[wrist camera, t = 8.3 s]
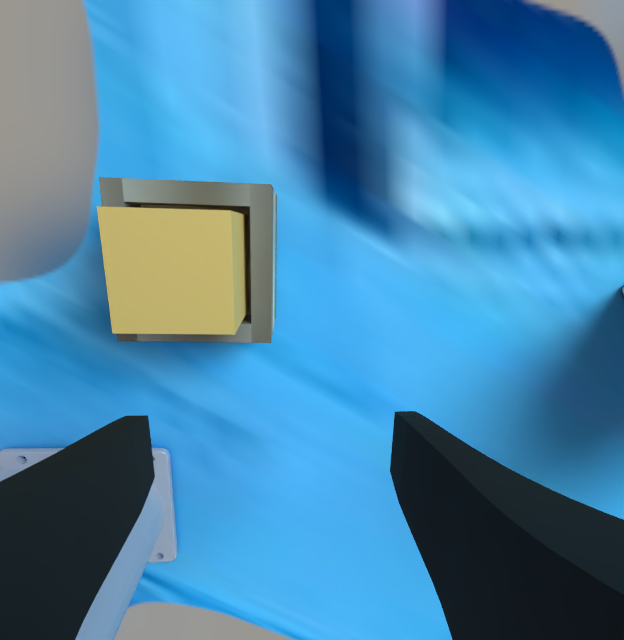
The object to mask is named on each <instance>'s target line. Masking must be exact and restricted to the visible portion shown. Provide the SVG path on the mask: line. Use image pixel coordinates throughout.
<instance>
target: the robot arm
mask: <svg viewBox="0 0 624 640" xmlns="http://www.w3.org/2000/svg"><path fill="white" fill-rule="evenodd" d="M23 456H24V457H25V458H26V459H25V458H23ZM153 457H154V459H153ZM390 472H391V476H392V480H393V483H394V487H395V491H396V494H397V497H398V501H399V504H400V506H401V509H402V511H403V514H404V516H405V518H406V521H407V523H408V526H409V528H410V530H411V533H412V535H413V537H414V540H415V542H416V544H417V547H418V549H419V551H420V554H421V556H422V558H423V561H424V563H425V565H426V568H427V570H428V572H429V575H430V577H431V579H432V582H433V584H434V587H435V589H436V592H437V595H438V597H439V600H440V603H441V605H442V608H443V611H444V614H445V618H446V621H447V624H448V627H449V630H450V633H451V636H452V639H453V640H624V520H623V519H620V518H617V517H615V516H612V515H609V514H607V513H604V512H602V511H599V510H597V509H595V508H592V507H590V506H587V505H585V504H582V503H580V502H578V501H575V500H573V499H570V498H568V497H566V496H564V495H561V494H559V493H557V492H555V491H552V490H550V489H548V488H546V487H544V486H542V485H540V484H538V483H536V482H534V481H532V480H530V479H528V478H526V477H524V476H522V475H520V474H518V473H516V472H514V471H512V470H510V469H508V468H507V467H505V466H503V465H501V464H500V463H498V462H496V461H494V460H493V459H491V458H489V457H487V456H486V455H484V454H482V453H481V452H479V451H477V450H476V449H474V448H472V447H471V446H469V445H468V444H466V443H465V442H463V441H461V440H460V439H458V438H457V437H455V436H454V435H452V434H451V433H449V432H448V431H446V430H444V429H443V428H441V427H440V426H438V425H437V424H435V423H434V422H432V421H431V420H429V419H428V418H426V417H424V416H423V415H421V414H419V413H417V412H415V411H408V412H395V418H394V430H393V442H392V454H391V466H390ZM177 551H178V550H177V538H176V525H175V513H174V500H173V488H172V475H171V463H170V454H169V452H168V451H167V450H166V449H164V448H152V447H151V438H150V429H149V421H148V416H125V417H122V418H120V419H118V420H116V421H114V422H112V423H110V424H108V425H106V426H104V427H102V428H100V429H99V430H97V431H95V432H93V433H91V434H90V435H88V436H86V437H84V438H82V439H80V440H79V441H77V442H75V443H73V444H71V445H70V446H68V447H66V448H6V449H2V450H1V451H0V640H114V638H115V636H116V634H117V631H118V629H119V627H120V624H121V622H122V620H123V617H124V615H125V613H126V611H127V608H128V606H129V604H130V601H131V599H132V597H133V594H134V592H135V590H136V588H137V585H138V583H139V581H140V578H141V576H142V574H143V571H144V569H145V567H146V565H147V562H170V561H173V560H174V559H175V558H176V555H177ZM160 553H162V554H160Z"/></svg>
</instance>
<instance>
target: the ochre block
mask: <svg viewBox="0 0 624 640" xmlns="http://www.w3.org/2000/svg"><path fill="white" fill-rule="evenodd" d="M97 213H98V221H99V229H100V237H101V245H102V253H103V261H104V269H105V277H106V285H107V294H108V302H109V310H110V318H111V326H112V333H115V334H231V335H235V333H236V332H237V330H238V328H239V326H240V324H241V322H242V320H243V319H244V317H245V315H246V313H247V311H248V309H249V282H248V231H247V215H244V214H241V213H238V212H234V211H231V210H200V209H166V208H133V207H100V206H97Z"/></svg>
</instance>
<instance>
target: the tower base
mask: <svg viewBox="0 0 624 640" xmlns="http://www.w3.org/2000/svg"><path fill="white" fill-rule="evenodd" d="M99 183H100V192H101V201H102V207H133V208H166V209H200V210H231V211H234V212H238V213H241V214H244V215H247V231H248V282H249V309H248V311H247V313H246V315H245V317H244V319H243V320H242V322H241V324H240V326H239V328H238V330H237V332H236V333H235V335H231V334H117V341H166V342H239V343H271V340H272V334H273V329H274V324H275V318H276V213H277V196H276V193H275V191H274V189H273V187H272V185H271V184H247V183H223V182H199V181H175V180H151V179H127V178H104V177H99Z"/></svg>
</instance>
